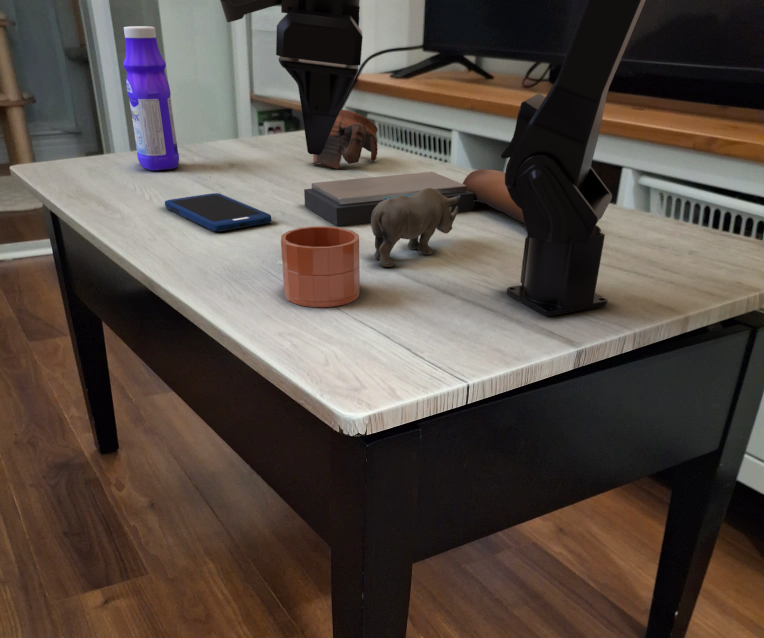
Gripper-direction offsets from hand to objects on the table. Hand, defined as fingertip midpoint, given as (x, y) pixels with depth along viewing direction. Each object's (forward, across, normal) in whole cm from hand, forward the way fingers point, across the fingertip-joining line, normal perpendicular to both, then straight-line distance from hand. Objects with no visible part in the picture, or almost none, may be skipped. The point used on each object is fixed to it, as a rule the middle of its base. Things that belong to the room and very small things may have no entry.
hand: (315, 141), depth 67 cm
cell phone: (+13, -19, -11) cm, 26 cm away
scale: (+11, -23, +9) cm, 27 cm away
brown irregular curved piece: (+13, -49, +4) cm, 51 cm away
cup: (+11, +8, +1) cm, 13 cm away
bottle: (+16, -47, -23) cm, 55 cm away
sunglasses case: (+10, -19, +25) cm, 33 cm away
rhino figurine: (+11, -5, +11) cm, 16 cm away
